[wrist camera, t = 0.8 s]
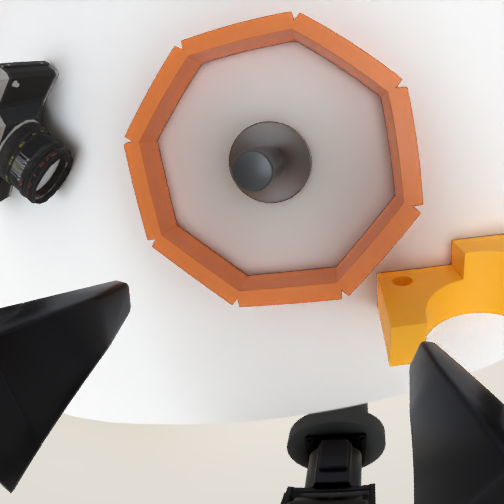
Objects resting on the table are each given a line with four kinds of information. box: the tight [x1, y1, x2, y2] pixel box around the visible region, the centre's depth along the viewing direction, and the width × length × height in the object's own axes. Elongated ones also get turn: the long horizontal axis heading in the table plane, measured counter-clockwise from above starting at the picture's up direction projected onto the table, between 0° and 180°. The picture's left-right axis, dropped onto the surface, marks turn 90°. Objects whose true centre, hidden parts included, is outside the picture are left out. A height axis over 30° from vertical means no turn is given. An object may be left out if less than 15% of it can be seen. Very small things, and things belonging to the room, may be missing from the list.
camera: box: [0, 61, 73, 204], centre depth 19 cm, size 15×11×10 cm
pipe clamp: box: [377, 234, 504, 366], centre depth 16 cm, size 12×4×6 cm, turn 102°
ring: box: [124, 12, 423, 307], centre depth 18 cm, size 17×17×2 cm
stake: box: [229, 122, 312, 203], centre depth 17 cm, size 5×5×5 cm
